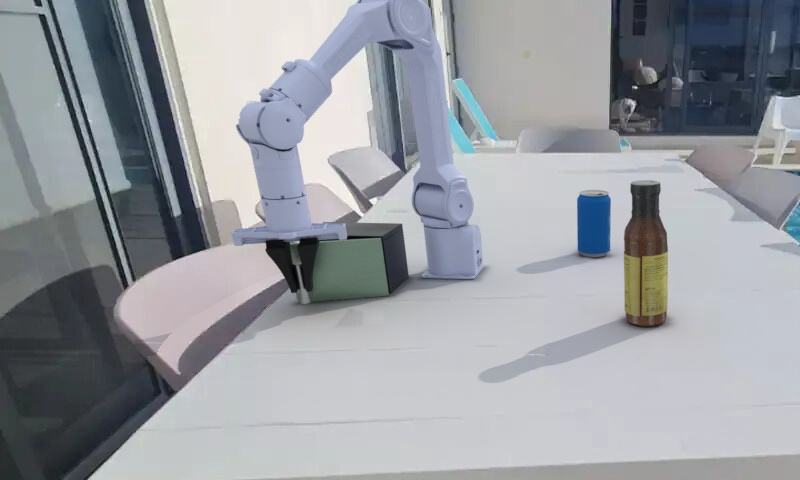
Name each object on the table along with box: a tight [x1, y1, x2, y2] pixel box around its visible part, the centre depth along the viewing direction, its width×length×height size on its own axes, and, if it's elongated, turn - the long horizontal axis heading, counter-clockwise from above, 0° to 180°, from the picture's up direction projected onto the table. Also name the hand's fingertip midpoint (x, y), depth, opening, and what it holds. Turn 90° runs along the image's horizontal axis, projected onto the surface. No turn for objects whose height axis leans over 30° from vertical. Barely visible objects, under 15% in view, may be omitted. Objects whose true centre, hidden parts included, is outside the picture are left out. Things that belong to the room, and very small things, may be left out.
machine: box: [320, 221, 410, 295], centre depth 106 cm, size 9×14×10 cm, turn 86°
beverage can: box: [576, 189, 612, 258], centre depth 124 cm, size 6×6×12 cm
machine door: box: [290, 238, 390, 305], centre depth 97 cm, size 6×14×9 cm, turn 106°
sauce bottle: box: [623, 179, 669, 327], centre depth 89 cm, size 6×6×20 cm
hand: (302, 290), depth 93 cm, fingers closed on machine door
